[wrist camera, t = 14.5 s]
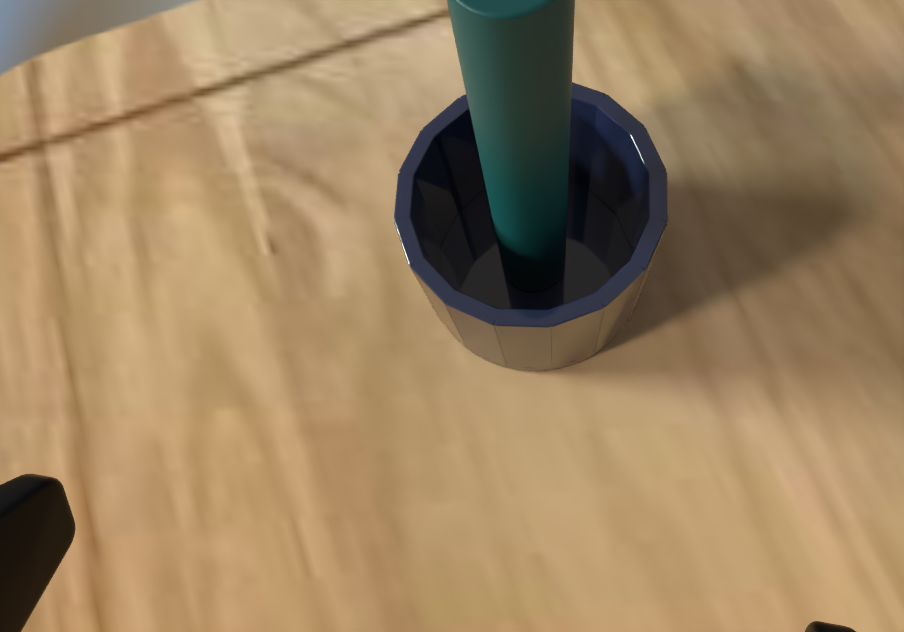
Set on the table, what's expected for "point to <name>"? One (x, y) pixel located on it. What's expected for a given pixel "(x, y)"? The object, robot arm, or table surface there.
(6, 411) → the table surface
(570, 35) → the teal green rod
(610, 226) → the cup
